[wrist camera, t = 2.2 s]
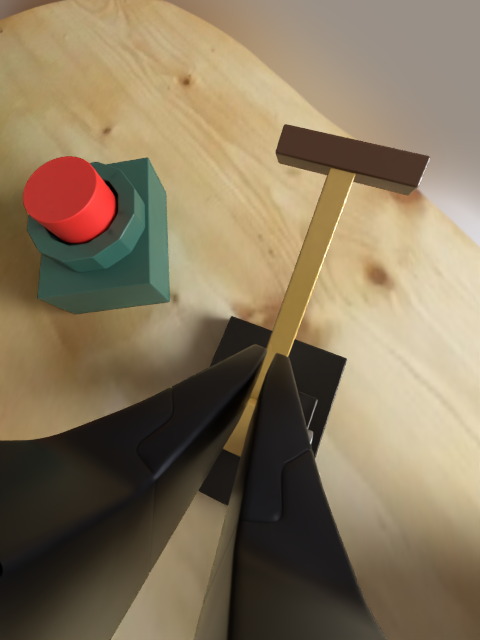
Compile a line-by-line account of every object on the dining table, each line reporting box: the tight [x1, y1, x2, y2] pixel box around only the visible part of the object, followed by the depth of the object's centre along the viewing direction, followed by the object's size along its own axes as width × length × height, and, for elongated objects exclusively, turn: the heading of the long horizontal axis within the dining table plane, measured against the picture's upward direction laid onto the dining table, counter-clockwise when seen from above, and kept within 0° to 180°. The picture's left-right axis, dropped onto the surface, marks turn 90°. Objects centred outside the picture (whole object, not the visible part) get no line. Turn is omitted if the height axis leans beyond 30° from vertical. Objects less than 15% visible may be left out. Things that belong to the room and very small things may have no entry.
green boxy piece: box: [27, 158, 170, 314], centre depth 23 cm, size 11×8×6 cm
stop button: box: [23, 156, 117, 244], centre depth 20 cm, size 5×5×2 cm
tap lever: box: [223, 124, 430, 457], centre depth 14 cm, size 15×6×2 cm, turn 157°
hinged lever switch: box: [198, 316, 347, 506], centre depth 17 cm, size 12×9×8 cm
